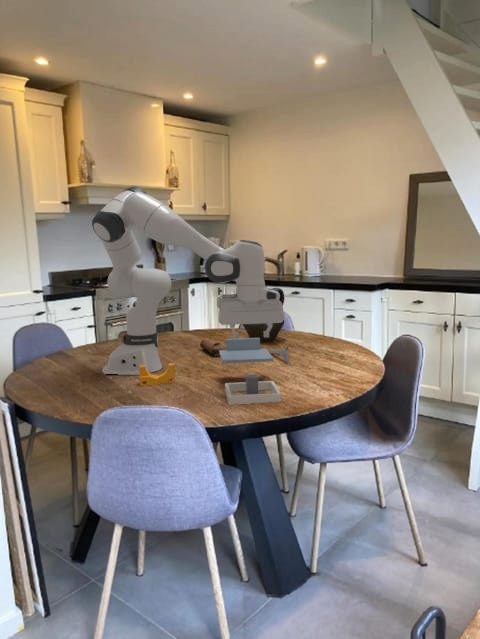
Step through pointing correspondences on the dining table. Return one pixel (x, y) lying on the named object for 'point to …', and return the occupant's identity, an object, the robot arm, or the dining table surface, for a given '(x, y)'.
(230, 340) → the lid
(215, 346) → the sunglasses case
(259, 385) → the frame
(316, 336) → the dining table surface
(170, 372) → the pipe clamp
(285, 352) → the caliper
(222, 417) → the dining table surface
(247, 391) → the dark grey block
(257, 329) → the pitcher
